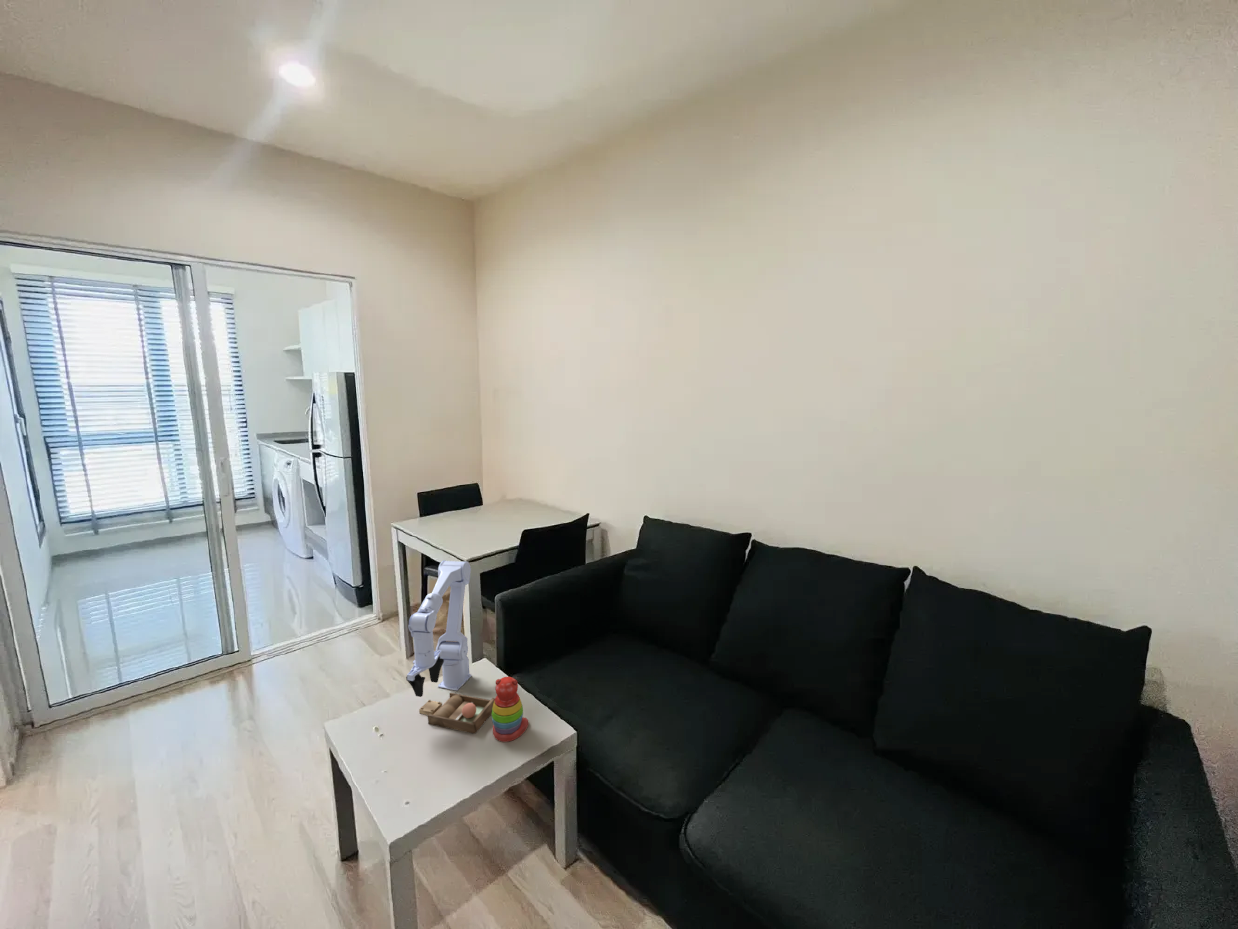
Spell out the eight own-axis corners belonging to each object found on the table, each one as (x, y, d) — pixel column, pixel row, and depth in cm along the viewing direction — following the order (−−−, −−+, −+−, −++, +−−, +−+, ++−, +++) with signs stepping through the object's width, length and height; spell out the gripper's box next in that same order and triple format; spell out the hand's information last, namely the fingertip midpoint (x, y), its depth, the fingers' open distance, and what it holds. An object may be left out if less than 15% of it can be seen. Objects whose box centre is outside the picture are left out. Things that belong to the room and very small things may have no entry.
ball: (478, 701, 159) (479, 713, 159) (467, 698, 160) (468, 711, 161) (470, 709, 155) (471, 722, 155) (458, 707, 156) (459, 719, 157)
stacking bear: (530, 721, 157) (528, 669, 154) (520, 744, 147) (518, 689, 144) (497, 718, 158) (494, 667, 155) (485, 741, 148) (482, 687, 145)
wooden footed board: (429, 703, 165) (428, 699, 165) (442, 706, 164) (441, 701, 163) (419, 713, 160) (419, 708, 160) (432, 716, 159) (432, 711, 159)
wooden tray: (451, 708, 167) (450, 689, 166) (495, 717, 163) (494, 698, 162) (429, 732, 156) (427, 712, 155) (475, 742, 151) (474, 722, 150)
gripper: (428, 636, 163) (430, 673, 165) (397, 659, 149) (400, 700, 151) (446, 639, 161) (448, 677, 163) (417, 663, 147) (420, 704, 149)
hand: (427, 688), depth 157 cm, fingers open, 7 cm apart
